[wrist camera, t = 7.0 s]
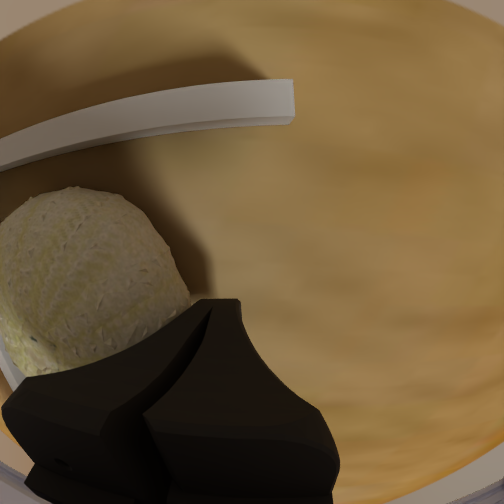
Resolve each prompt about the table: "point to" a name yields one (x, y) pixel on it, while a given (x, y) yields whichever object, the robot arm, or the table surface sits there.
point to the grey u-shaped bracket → (147, 129)
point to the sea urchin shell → (82, 280)
